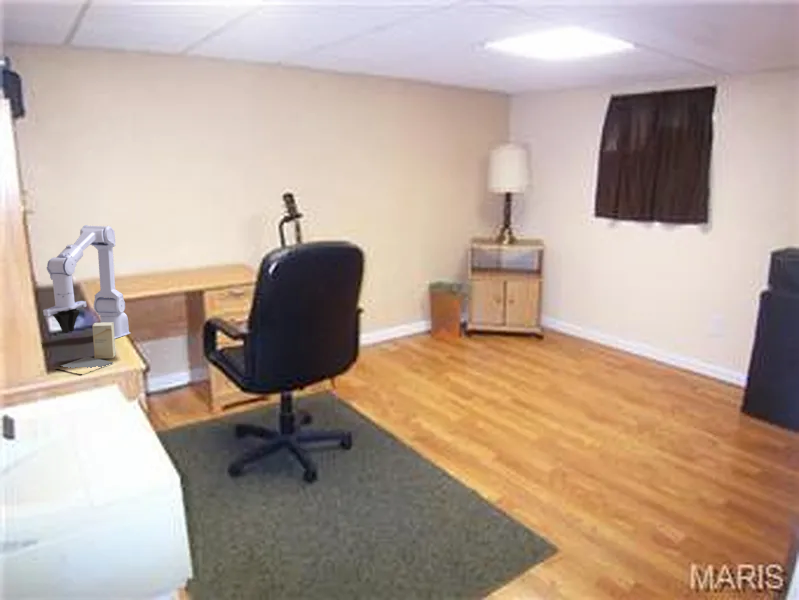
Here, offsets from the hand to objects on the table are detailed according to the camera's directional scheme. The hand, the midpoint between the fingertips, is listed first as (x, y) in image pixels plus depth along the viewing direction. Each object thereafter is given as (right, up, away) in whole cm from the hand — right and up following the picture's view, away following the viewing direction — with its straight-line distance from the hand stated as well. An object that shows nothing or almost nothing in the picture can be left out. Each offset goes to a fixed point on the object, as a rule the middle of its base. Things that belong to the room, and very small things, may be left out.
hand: (68, 331), depth 195 cm
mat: (+7, -12, -3) cm, 14 cm away
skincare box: (+9, -10, +7) cm, 15 cm away
